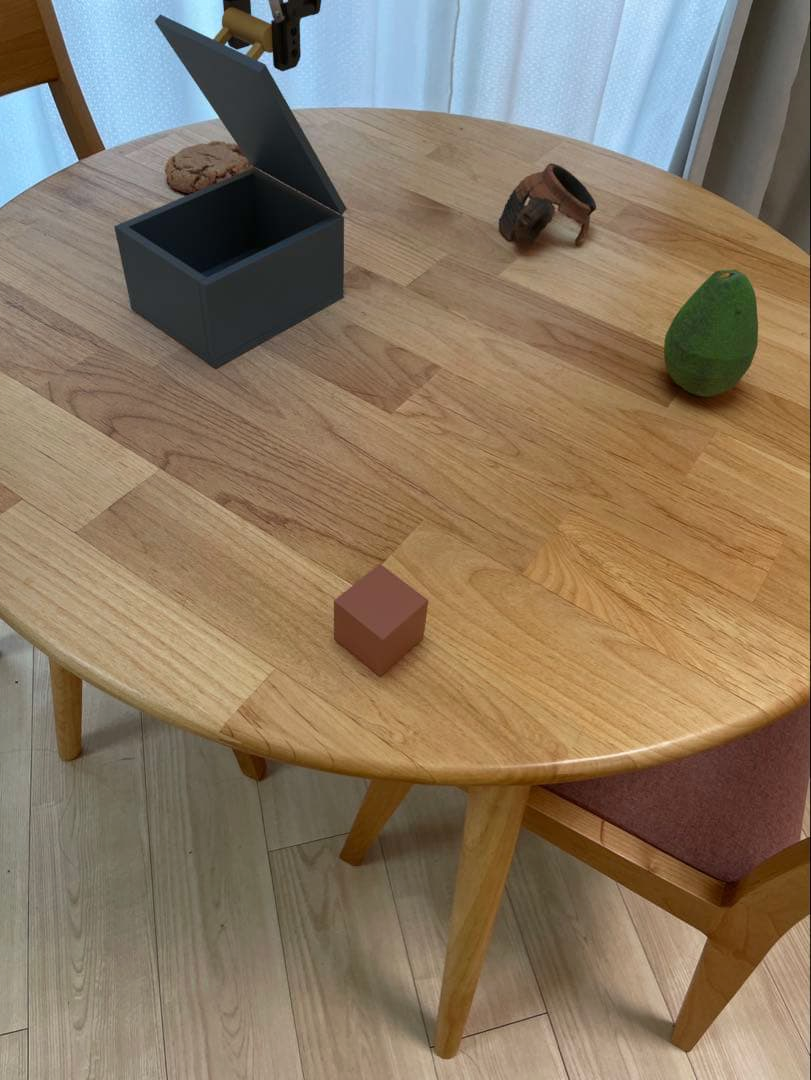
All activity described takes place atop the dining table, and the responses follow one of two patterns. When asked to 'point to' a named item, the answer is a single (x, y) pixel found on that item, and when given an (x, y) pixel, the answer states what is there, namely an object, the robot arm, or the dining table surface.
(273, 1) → the robot arm
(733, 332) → the avocado
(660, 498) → the dining table surface
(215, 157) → the cookie
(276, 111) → the lid
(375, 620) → the block
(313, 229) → the chest
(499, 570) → the dining table surface
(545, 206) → the pottery mug
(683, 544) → the dining table surface
